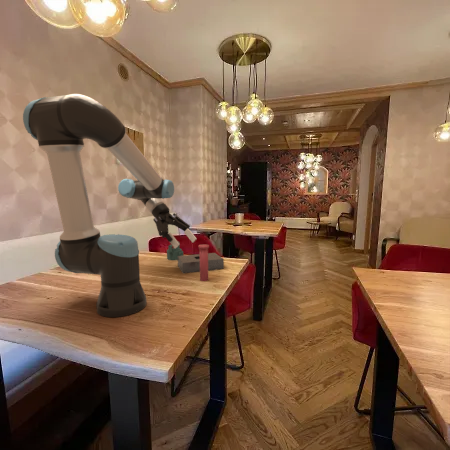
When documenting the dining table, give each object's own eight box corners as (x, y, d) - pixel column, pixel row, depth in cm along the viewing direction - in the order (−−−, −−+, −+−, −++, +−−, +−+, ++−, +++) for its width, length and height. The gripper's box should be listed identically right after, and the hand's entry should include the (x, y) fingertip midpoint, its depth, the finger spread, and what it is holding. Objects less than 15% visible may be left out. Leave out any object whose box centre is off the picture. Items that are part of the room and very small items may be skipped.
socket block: (182, 273, 119) (182, 263, 119) (177, 265, 132) (177, 256, 132) (223, 269, 126) (223, 259, 125) (215, 261, 139) (214, 252, 138)
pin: (200, 282, 108) (199, 246, 106) (198, 278, 112) (197, 244, 110) (210, 280, 109) (210, 246, 107) (207, 277, 113) (207, 244, 111)
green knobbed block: (169, 261, 141) (168, 245, 140) (165, 257, 149) (165, 242, 148) (185, 259, 145) (184, 244, 144) (180, 256, 153) (180, 241, 152)
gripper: (170, 211, 130) (196, 243, 126) (133, 216, 108) (163, 255, 104) (178, 201, 127) (205, 233, 123) (142, 203, 105) (174, 243, 101)
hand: (186, 243), depth 113 cm, fingers open, 13 cm apart
